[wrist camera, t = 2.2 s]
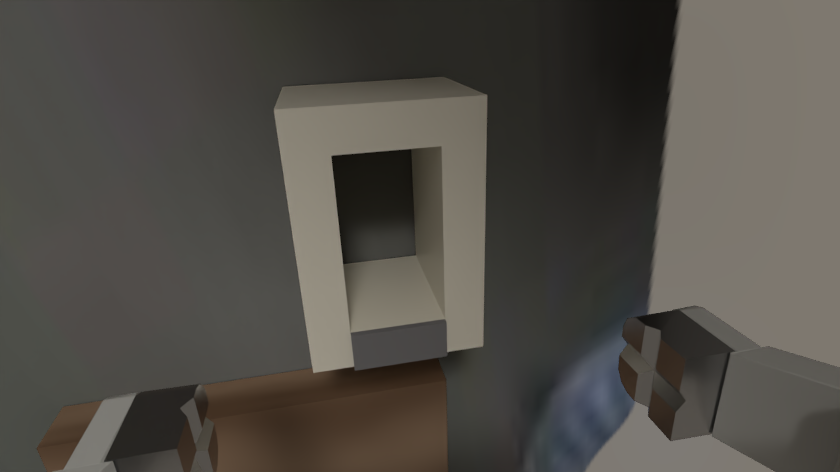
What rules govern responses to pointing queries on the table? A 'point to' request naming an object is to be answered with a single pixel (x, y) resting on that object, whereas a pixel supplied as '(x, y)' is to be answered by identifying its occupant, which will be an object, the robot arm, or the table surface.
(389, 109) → the open rectangular brace
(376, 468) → the board
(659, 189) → the table surface
